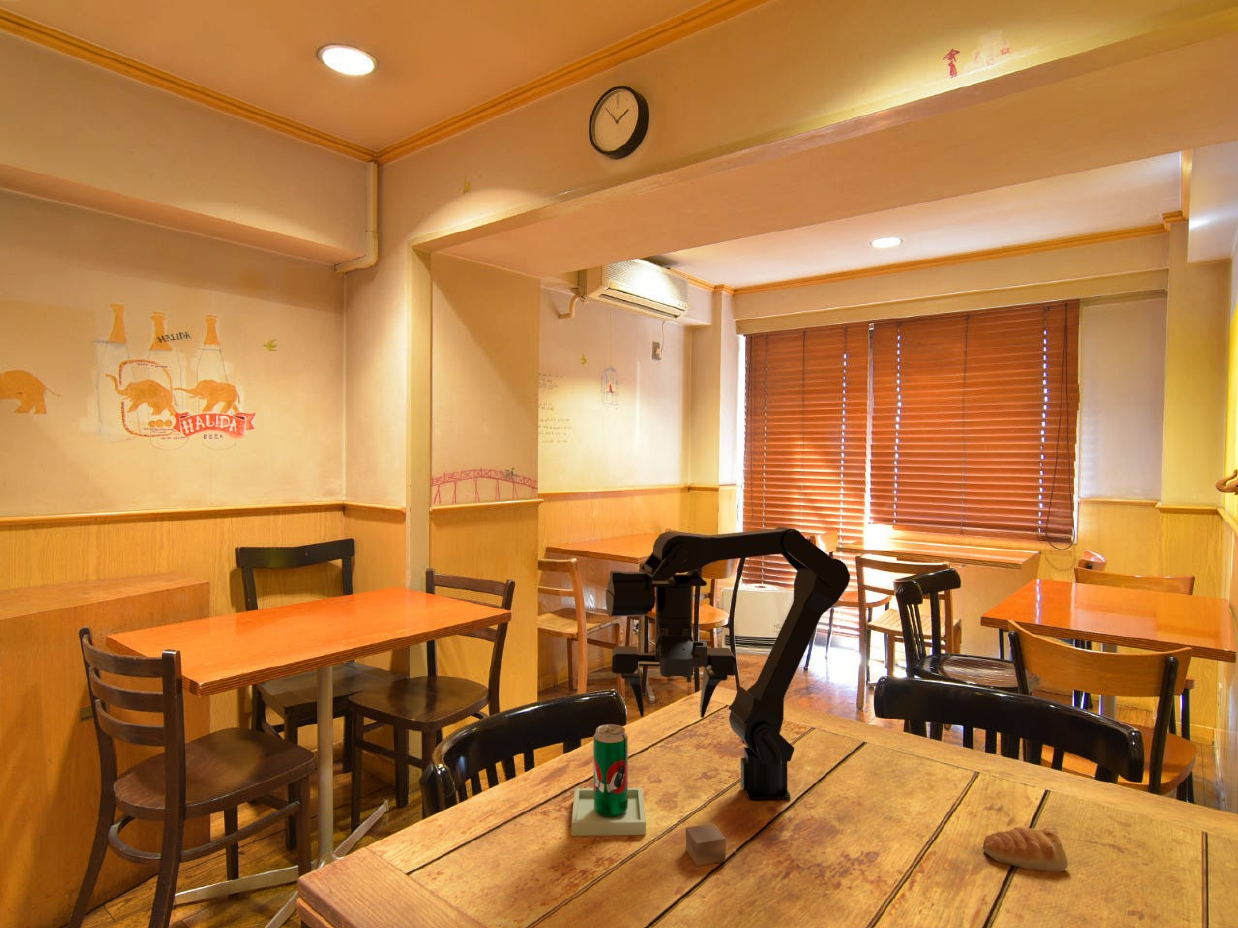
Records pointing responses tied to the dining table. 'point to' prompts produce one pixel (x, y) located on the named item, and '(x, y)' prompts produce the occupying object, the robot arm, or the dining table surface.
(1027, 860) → the pastry
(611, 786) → the soda can
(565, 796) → the dining table surface
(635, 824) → the tray
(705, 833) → the small brown cube
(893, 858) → the dining table surface
